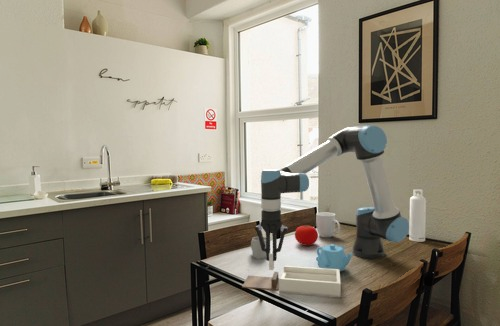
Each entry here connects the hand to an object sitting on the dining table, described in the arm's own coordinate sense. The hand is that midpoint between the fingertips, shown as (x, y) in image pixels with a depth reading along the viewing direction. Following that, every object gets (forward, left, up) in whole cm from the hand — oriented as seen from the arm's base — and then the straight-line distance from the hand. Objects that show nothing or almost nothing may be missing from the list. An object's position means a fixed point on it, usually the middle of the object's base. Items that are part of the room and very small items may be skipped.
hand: (271, 268), depth 137 cm
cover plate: (+4, 0, -7) cm, 8 cm away
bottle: (-70, -75, -6) cm, 103 cm away
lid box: (-15, 0, -6) cm, 16 cm away
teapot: (-24, -19, -7) cm, 31 cm away
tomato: (-10, -55, -7) cm, 56 cm away
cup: (+12, -32, -7) cm, 35 cm away
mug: (-21, -73, -6) cm, 76 cm away
